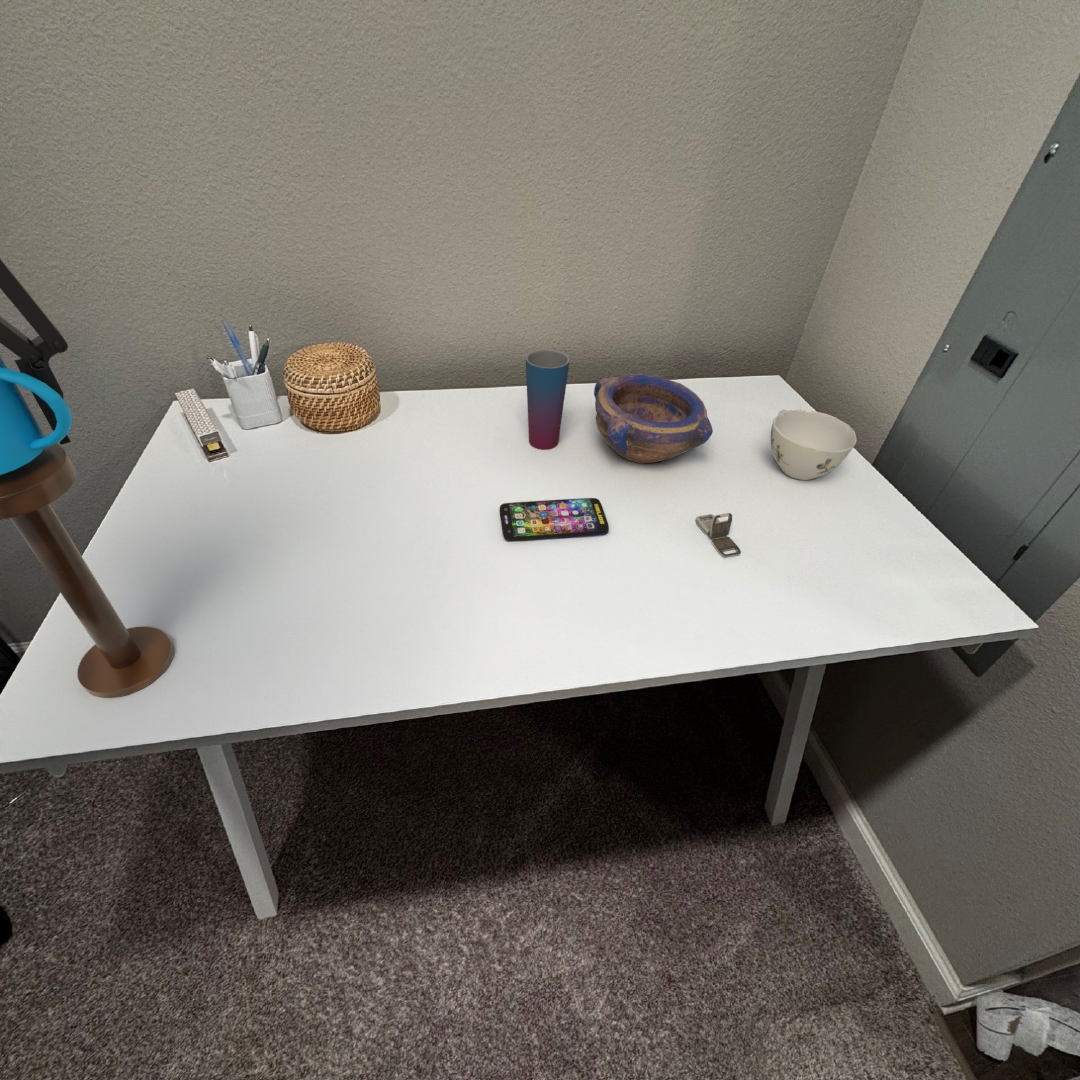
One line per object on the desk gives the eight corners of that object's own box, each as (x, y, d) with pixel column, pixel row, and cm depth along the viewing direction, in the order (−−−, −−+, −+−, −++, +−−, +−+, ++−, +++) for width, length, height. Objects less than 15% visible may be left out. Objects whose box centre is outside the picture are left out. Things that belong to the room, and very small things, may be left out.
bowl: (709, 479, 99) (724, 424, 92) (597, 479, 98) (604, 424, 91) (684, 421, 112) (695, 369, 106) (585, 420, 111) (590, 368, 105)
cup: (515, 439, 106) (516, 356, 96) (544, 426, 109) (548, 344, 99) (542, 457, 102) (546, 372, 92) (571, 443, 105) (578, 359, 96)
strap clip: (693, 521, 91) (698, 497, 88) (711, 517, 92) (717, 494, 89) (722, 559, 85) (729, 535, 82) (742, 555, 86) (749, 531, 83)
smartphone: (498, 502, 91) (599, 496, 93) (498, 507, 91) (598, 501, 93) (503, 537, 85) (611, 530, 87) (503, 543, 86) (610, 536, 87)
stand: (93, 713, 64) (-59, 517, 47) (72, 658, 69) (-72, 463, 52) (185, 668, 68) (77, 474, 51) (159, 619, 73) (53, 428, 56)
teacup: (855, 488, 99) (875, 445, 93) (786, 498, 96) (802, 454, 91) (802, 438, 109) (817, 397, 104) (738, 445, 107) (750, 404, 101)
